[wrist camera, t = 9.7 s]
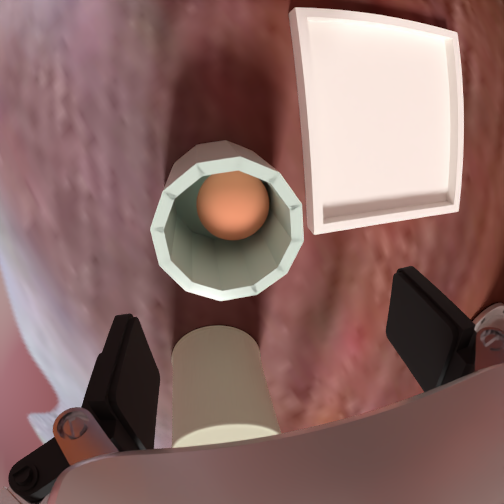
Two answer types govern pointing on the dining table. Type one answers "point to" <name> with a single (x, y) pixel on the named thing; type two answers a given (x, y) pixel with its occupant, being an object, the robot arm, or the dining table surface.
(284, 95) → the dining table surface
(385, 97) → the tray
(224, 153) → the cup
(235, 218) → the ball
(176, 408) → the can
